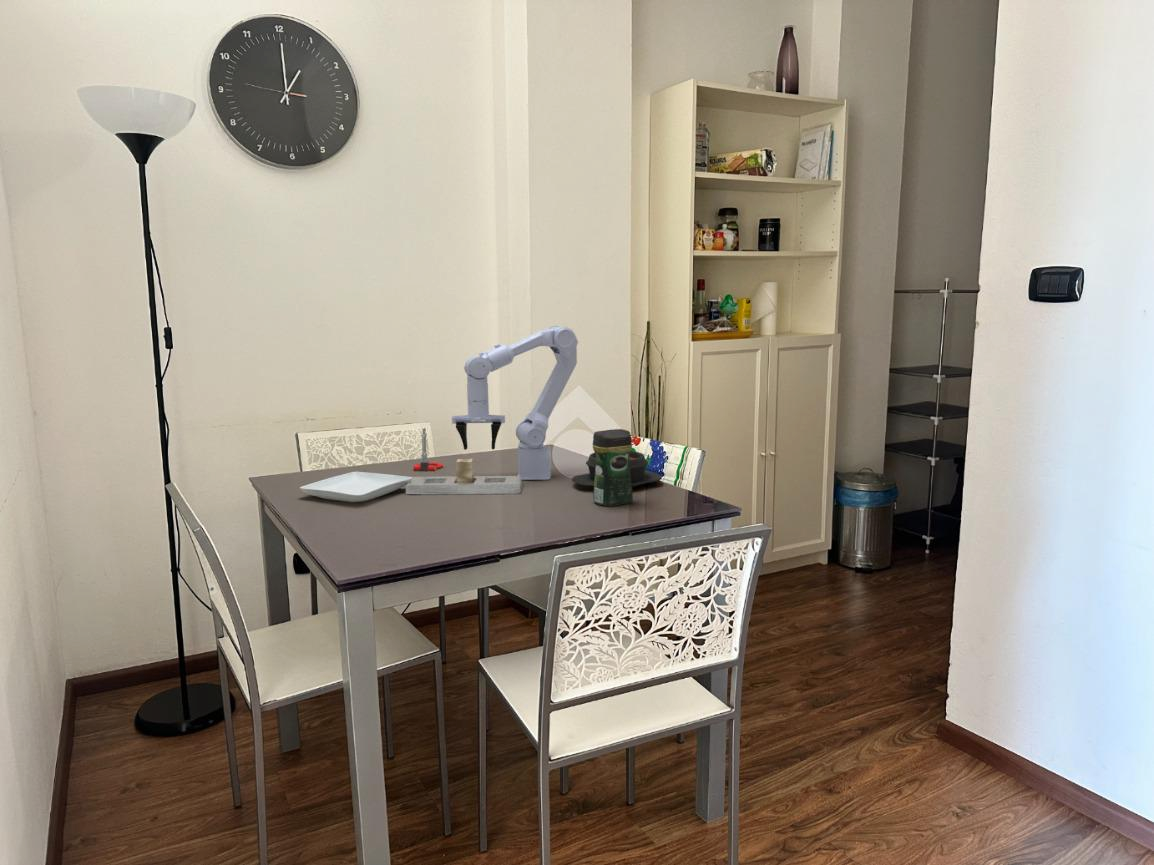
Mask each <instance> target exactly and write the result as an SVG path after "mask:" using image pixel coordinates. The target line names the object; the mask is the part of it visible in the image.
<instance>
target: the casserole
mask: <svg viewBox="0 0 1154 865" xmlns="http://www.w3.org/2000/svg"><path fill="white" fill-rule="evenodd" d="M587 459H588V460H587V461H585V464H586V466H587V468H588V472H589V473H583V474H578V475H574V476H572V478H571V481H572V482H573V483H575V484H577V485H579V486H584V487H594V480H595V466H596V458H595V452H592V453H591V454H590V455H589V457H588V458H587ZM648 465H649V462H648V461H647V460H646V457H645V454H643V453H641V452H638V451H635V450H634V451H633V450H631V451H630V475H631V484H632V487H633V488H636V487H638V486H640V485H644V484H648V483H655V482H658V481H659V482H660V480H662V478H663V477H662V475H661V474H659V473H657V472H654V471H649V470H646V467H647V466H648Z"/></svg>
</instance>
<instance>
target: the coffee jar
mask: <svg viewBox="0 0 1154 865" xmlns="http://www.w3.org/2000/svg"><path fill="white" fill-rule="evenodd" d="M592 439H593V440H592V450H593V453H595V458H596V466H595V480H594V486H593V492H592V494H593V498H592V499H593V501H594V503H595V504H597V505H598V506H601V505H602V506H605V507H612V506H613V505H615V506H621V505H620V504H622V505H626V504H630V503H632V501H633V500H634V499H633V498H634V495H633V488H632V484H631V475H630V451H632V447H633V443H632V435H631V432H630V431H629V430H626V429H623V428H616V429H615V428H614V429H605V430H597V431H594V432H593V436H592Z"/></svg>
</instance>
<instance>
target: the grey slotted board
mask: <svg viewBox="0 0 1154 865" xmlns="http://www.w3.org/2000/svg"><path fill="white" fill-rule="evenodd" d="M522 488H523V480H522V476H517V475H483V476H482V475H476V476H475V475H474V483H457V475H456V476H453V475H452V476H412V480H411V481H410V482H408V483H407V484H406V485H405V495H406V494H421V495H500V494H501V495H506V494H507V495H510V494H512V495H513V494H514V495H517V494H521V491H522Z"/></svg>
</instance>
